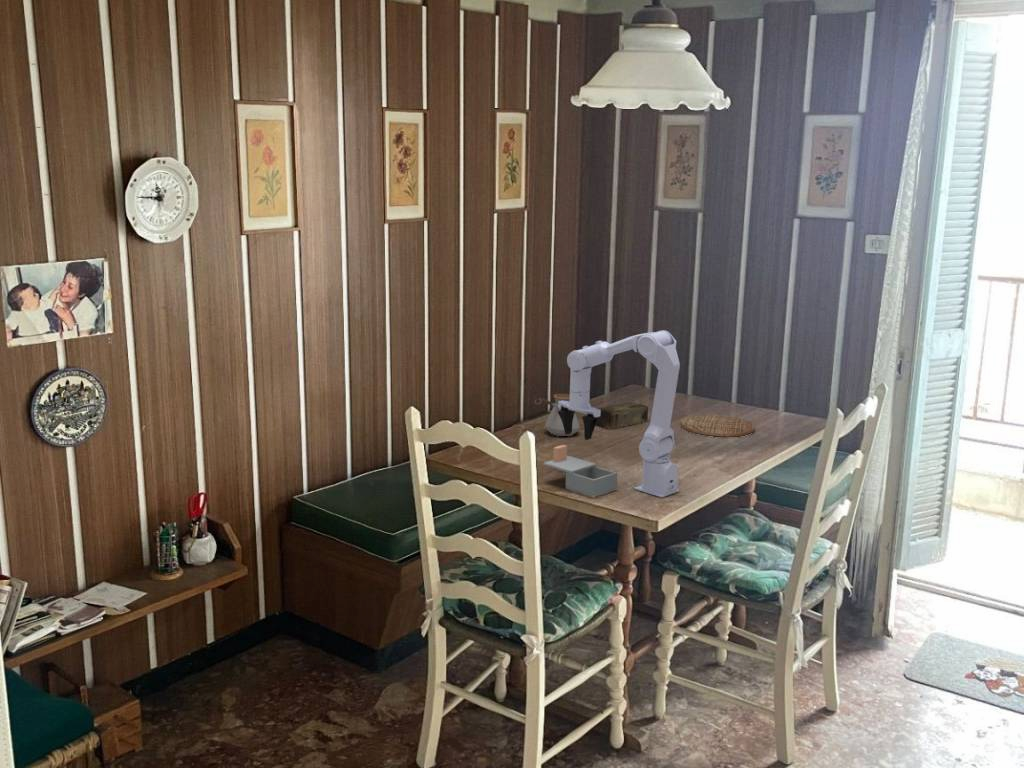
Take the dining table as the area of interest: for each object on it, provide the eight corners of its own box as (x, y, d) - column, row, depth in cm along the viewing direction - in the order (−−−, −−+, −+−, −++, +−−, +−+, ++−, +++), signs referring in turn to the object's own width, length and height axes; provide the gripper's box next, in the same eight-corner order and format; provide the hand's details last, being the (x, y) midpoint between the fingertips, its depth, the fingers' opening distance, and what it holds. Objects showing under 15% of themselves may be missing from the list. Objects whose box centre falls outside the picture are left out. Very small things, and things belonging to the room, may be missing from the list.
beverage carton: (648, 422, 352) (649, 404, 351) (609, 431, 340) (610, 412, 339) (632, 417, 358) (633, 399, 357) (593, 426, 346) (594, 407, 344)
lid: (596, 465, 283) (596, 450, 282) (571, 473, 276) (572, 457, 275) (568, 457, 290) (568, 442, 289) (543, 464, 283) (544, 449, 282)
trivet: (752, 442, 331) (752, 436, 331) (675, 434, 338) (676, 429, 337) (755, 423, 355) (756, 418, 354) (684, 417, 361) (684, 411, 361)
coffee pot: (556, 427, 342) (558, 384, 339) (586, 433, 336) (587, 389, 332) (521, 440, 325) (522, 395, 322) (551, 447, 319) (552, 401, 315)
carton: (616, 490, 279) (617, 472, 278) (593, 498, 272) (593, 480, 271) (588, 481, 286) (589, 464, 285) (565, 489, 279) (566, 471, 278)
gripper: (608, 393, 288) (606, 439, 291) (570, 384, 298) (568, 428, 301) (592, 396, 283) (590, 443, 286) (553, 387, 293) (552, 433, 296)
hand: (577, 436), depth 293 cm, fingers open, 7 cm apart
